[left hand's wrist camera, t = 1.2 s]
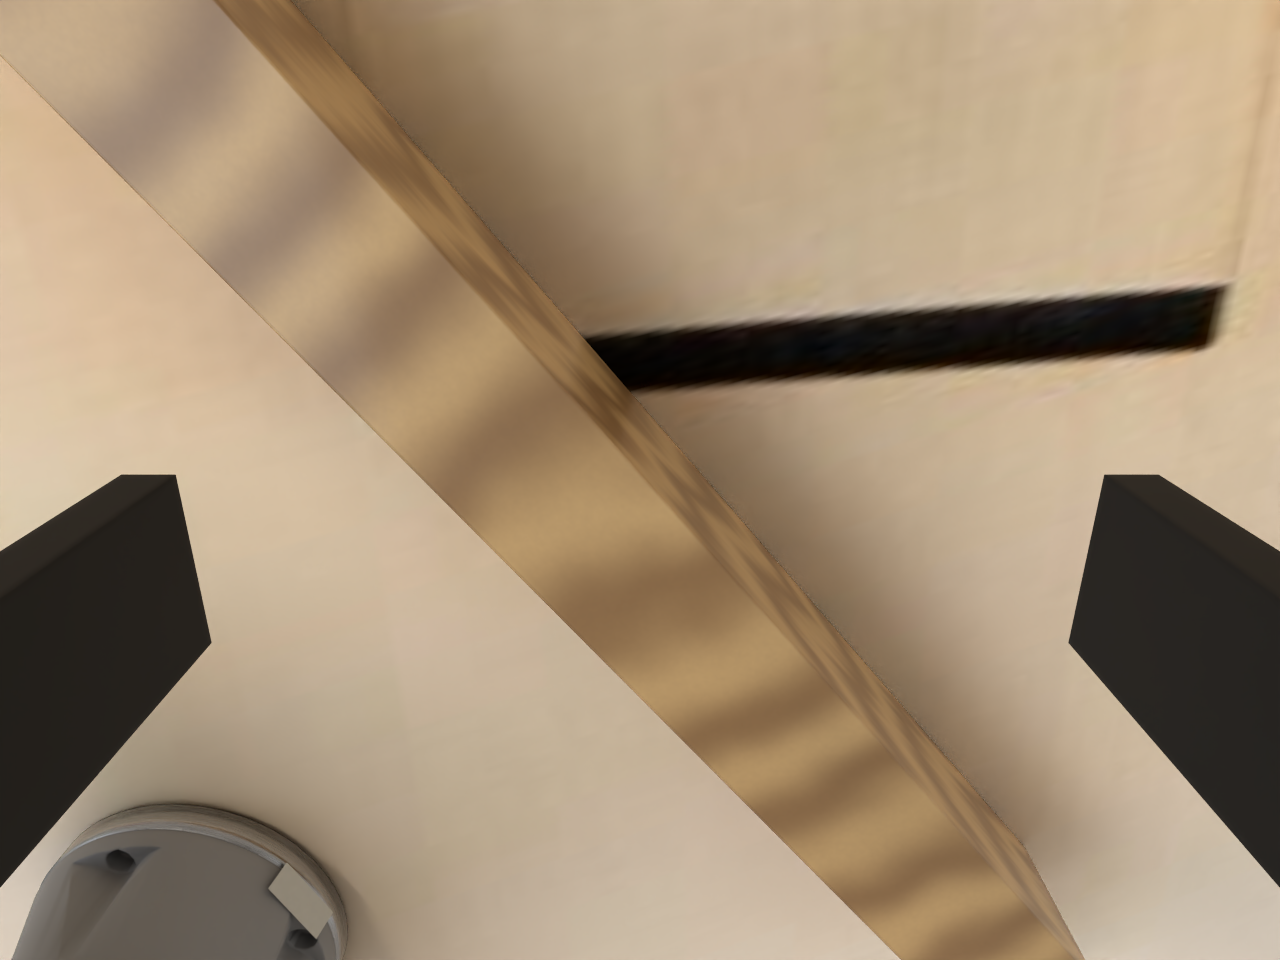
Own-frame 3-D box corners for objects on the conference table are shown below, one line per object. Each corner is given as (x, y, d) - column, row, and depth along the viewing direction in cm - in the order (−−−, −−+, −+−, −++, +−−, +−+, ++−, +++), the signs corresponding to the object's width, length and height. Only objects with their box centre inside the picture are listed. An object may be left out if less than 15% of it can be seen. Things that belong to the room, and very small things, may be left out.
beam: (1025, 847, 43) (1100, 988, 36) (931, 900, 44) (986, 1046, 37) (-448, -853, 22) (-971, -1328, 15) (-541, -657, 24) (-1060, -1006, 16)
